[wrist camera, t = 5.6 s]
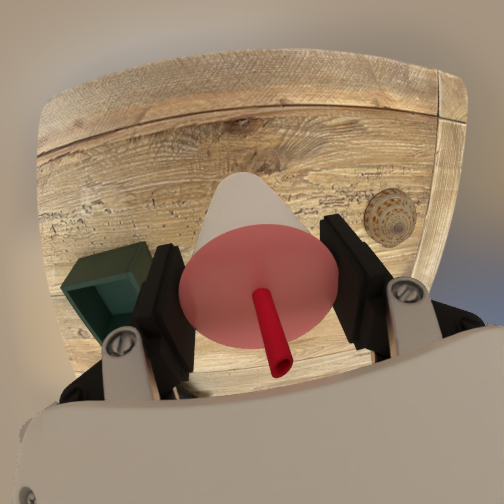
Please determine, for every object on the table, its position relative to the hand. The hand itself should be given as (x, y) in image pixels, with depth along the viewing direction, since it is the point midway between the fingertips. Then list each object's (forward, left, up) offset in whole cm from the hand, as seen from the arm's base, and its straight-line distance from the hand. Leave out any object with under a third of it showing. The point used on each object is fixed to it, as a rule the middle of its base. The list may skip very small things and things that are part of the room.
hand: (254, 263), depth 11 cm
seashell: (+23, +6, -22) cm, 33 cm away
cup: (0, 0, -7) cm, 7 cm away
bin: (-2, -24, -22) cm, 33 cm away
